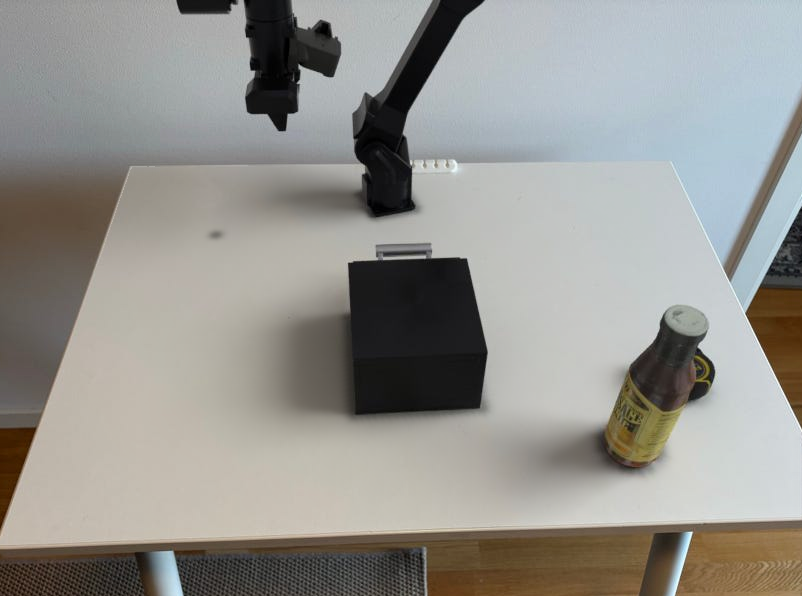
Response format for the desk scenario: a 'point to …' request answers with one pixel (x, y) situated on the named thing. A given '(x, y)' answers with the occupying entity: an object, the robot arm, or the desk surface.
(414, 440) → the desk surface
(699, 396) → the tape measure
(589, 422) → the desk surface
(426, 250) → the tray
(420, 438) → the desk surface
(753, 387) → the desk surface
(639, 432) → the sauce bottle
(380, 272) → the box
